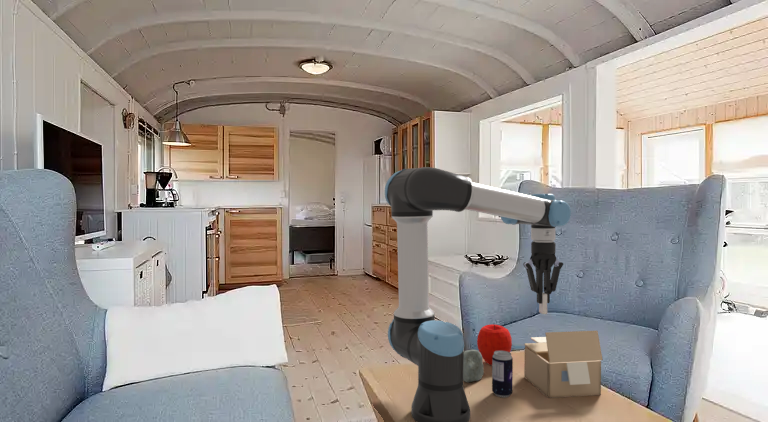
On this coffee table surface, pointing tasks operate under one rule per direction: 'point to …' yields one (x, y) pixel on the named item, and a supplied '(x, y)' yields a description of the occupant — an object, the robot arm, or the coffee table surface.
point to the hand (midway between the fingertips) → (543, 313)
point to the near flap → (574, 352)
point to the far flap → (538, 345)
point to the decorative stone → (472, 366)
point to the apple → (493, 341)
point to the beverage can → (502, 373)
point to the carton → (559, 376)
